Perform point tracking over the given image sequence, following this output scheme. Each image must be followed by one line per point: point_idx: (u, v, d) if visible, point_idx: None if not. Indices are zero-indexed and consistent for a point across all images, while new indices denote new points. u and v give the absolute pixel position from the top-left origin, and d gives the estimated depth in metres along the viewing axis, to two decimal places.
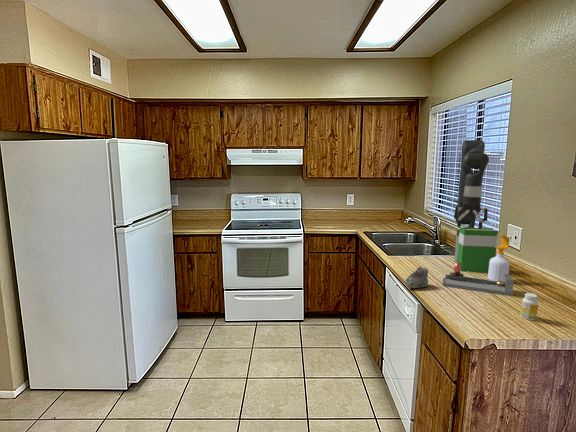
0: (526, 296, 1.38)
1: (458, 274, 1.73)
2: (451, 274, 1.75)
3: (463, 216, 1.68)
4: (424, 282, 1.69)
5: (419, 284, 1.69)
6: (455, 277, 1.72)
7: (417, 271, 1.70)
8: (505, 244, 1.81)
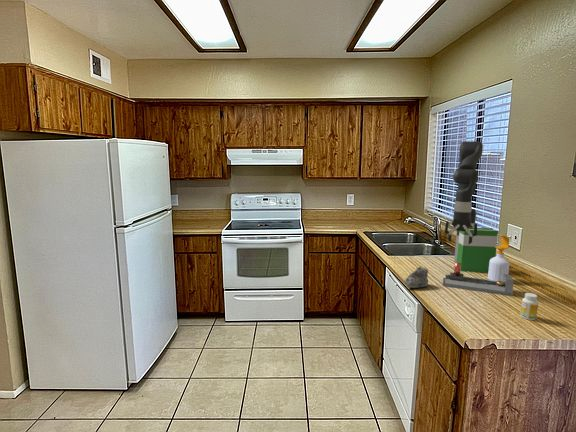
0: (526, 296, 1.38)
1: (458, 274, 1.73)
2: (451, 274, 1.75)
3: (453, 231, 1.71)
4: (423, 282, 1.69)
5: (419, 284, 1.69)
6: (455, 277, 1.72)
7: (417, 271, 1.70)
8: (505, 244, 1.81)
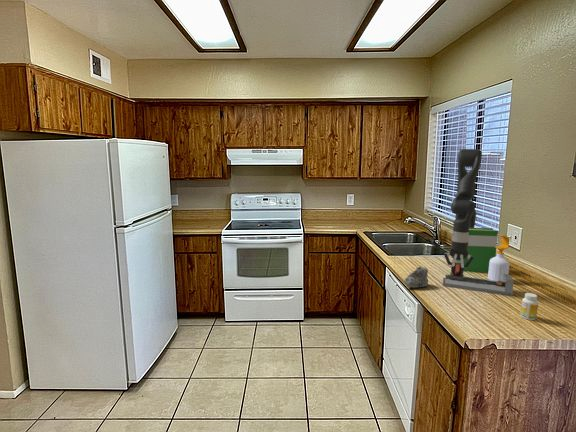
0: (526, 296, 1.38)
1: (458, 274, 1.73)
2: (451, 274, 1.75)
3: (454, 261, 1.73)
4: (423, 282, 1.69)
5: (418, 284, 1.69)
6: (455, 277, 1.72)
7: (417, 271, 1.70)
8: (505, 244, 1.81)
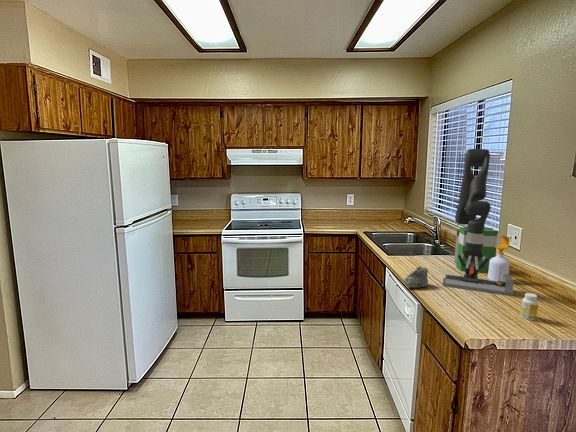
0: (526, 296, 1.38)
1: (472, 276, 1.71)
2: (465, 276, 1.72)
3: (469, 263, 1.70)
4: (423, 282, 1.69)
5: (418, 284, 1.69)
6: (469, 279, 1.70)
7: (417, 271, 1.71)
8: (505, 244, 1.81)
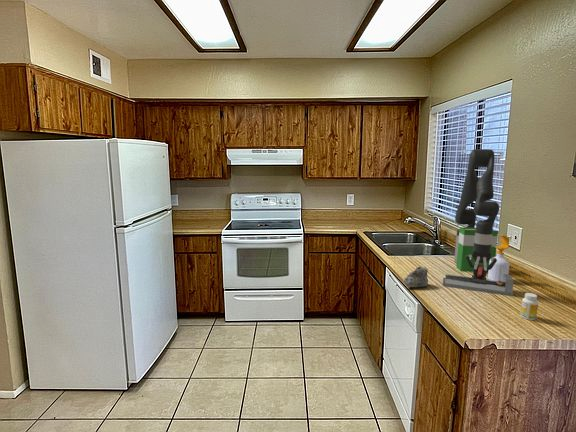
0: (526, 296, 1.38)
1: (481, 277, 1.69)
2: (473, 277, 1.71)
3: (477, 264, 1.68)
4: (423, 282, 1.70)
5: (418, 284, 1.69)
6: (478, 280, 1.68)
7: (417, 271, 1.71)
8: (505, 244, 1.81)
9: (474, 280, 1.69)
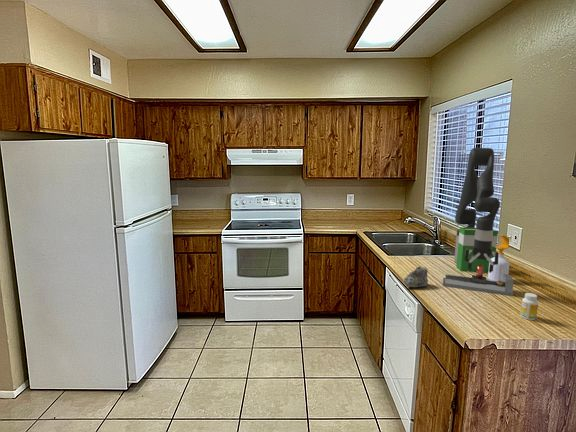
0: (526, 296, 1.38)
1: (481, 277, 1.69)
2: (473, 277, 1.71)
3: (474, 259, 1.69)
4: (422, 282, 1.70)
5: (418, 283, 1.69)
6: (478, 280, 1.68)
7: (416, 271, 1.71)
8: (505, 244, 1.81)
9: (474, 280, 1.69)
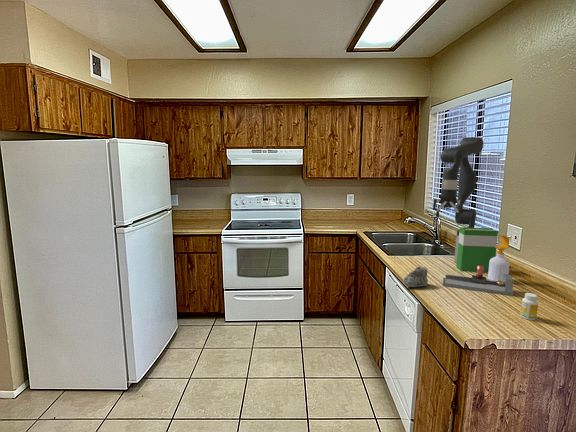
0: (526, 296, 1.38)
1: (481, 277, 1.69)
2: (473, 277, 1.71)
3: (441, 207, 1.82)
4: (422, 282, 1.70)
5: (417, 283, 1.69)
6: (478, 280, 1.68)
7: (416, 271, 1.71)
8: (505, 244, 1.81)
9: (474, 280, 1.69)
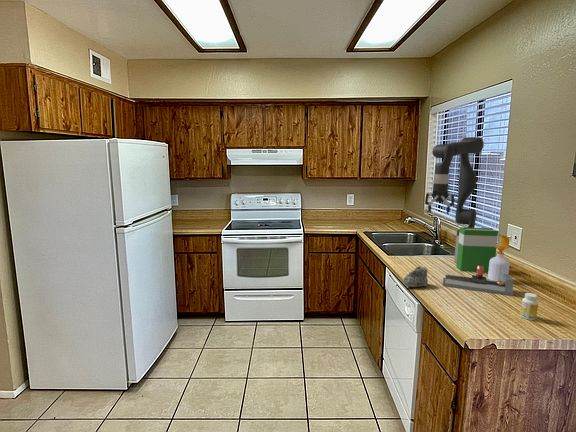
0: (526, 296, 1.38)
1: (481, 277, 1.69)
2: (473, 277, 1.71)
3: (433, 201, 1.86)
4: (422, 282, 1.70)
5: (417, 283, 1.70)
6: (478, 280, 1.68)
7: (416, 271, 1.71)
8: (505, 244, 1.81)
9: (474, 280, 1.69)
